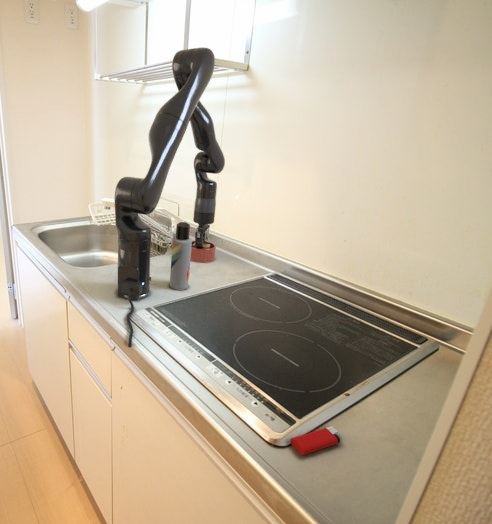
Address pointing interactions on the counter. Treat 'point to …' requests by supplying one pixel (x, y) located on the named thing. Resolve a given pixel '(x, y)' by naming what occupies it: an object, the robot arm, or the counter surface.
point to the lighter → (315, 440)
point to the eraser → (206, 246)
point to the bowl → (203, 253)
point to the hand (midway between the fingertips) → (200, 254)
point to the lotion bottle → (180, 257)
